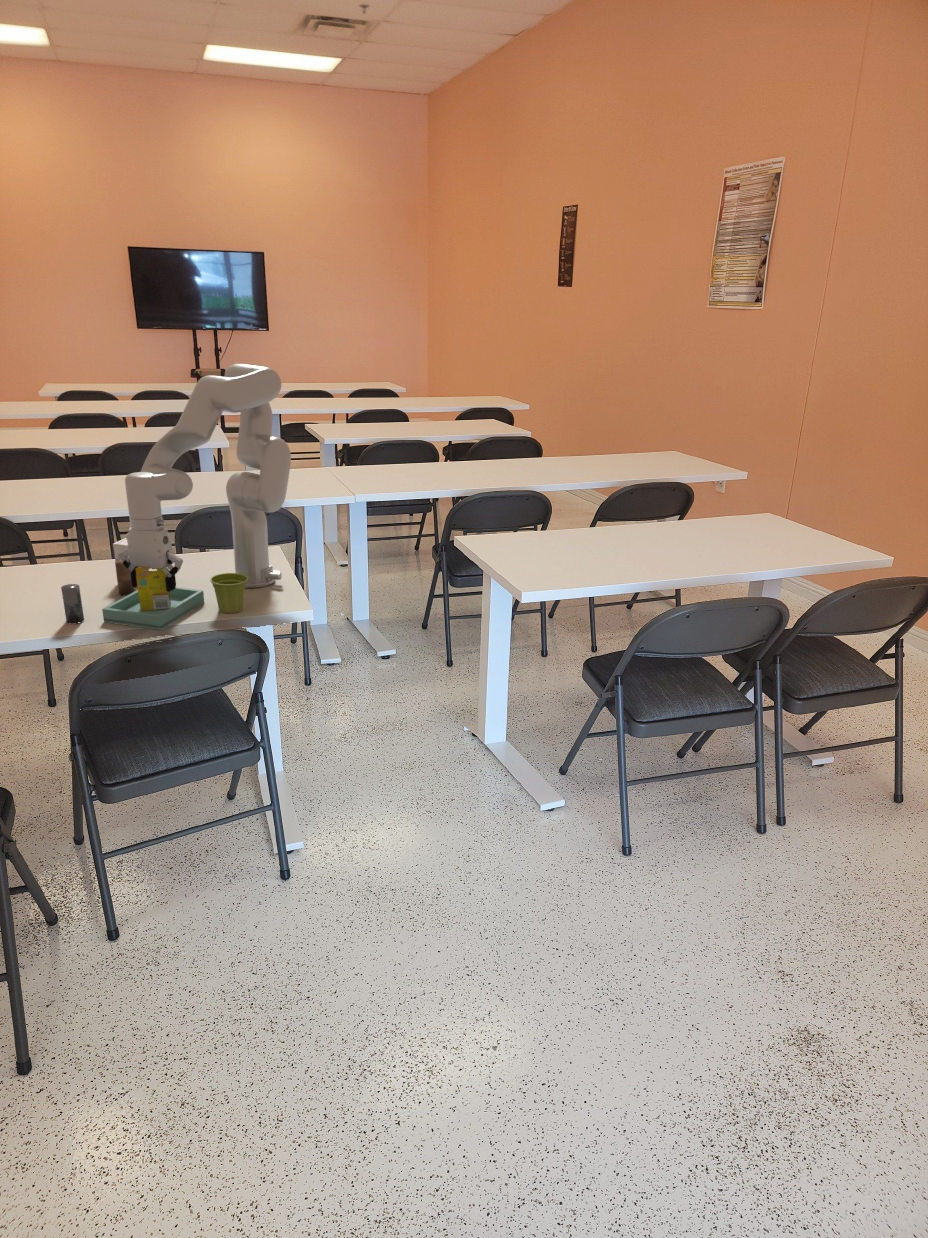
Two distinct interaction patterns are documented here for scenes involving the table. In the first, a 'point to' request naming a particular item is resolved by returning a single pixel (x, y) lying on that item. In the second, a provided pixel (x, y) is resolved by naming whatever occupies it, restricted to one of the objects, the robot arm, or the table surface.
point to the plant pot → (229, 591)
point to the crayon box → (152, 589)
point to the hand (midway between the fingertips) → (154, 587)
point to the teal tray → (159, 619)
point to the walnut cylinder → (123, 579)
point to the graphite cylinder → (72, 603)
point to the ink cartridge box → (121, 548)
